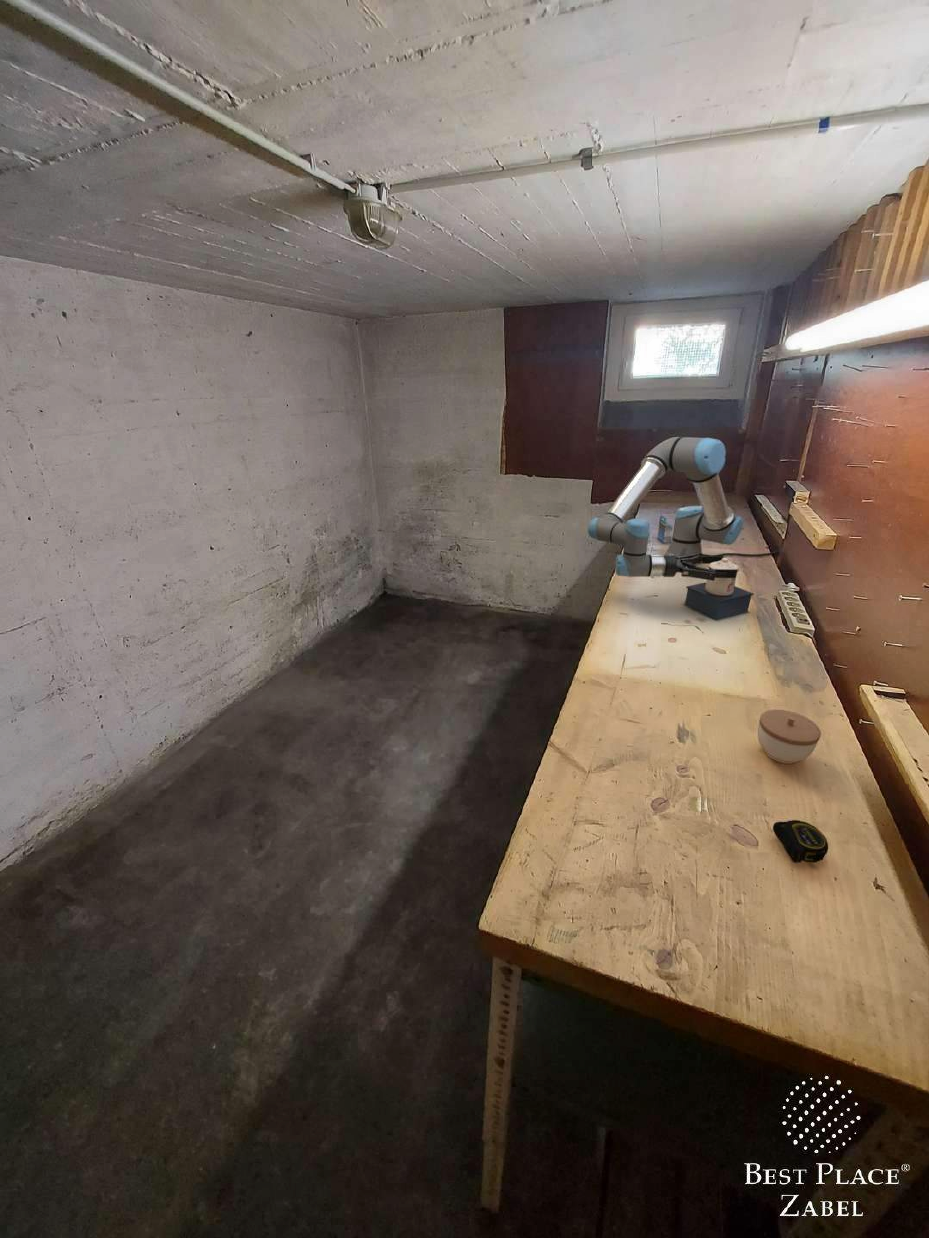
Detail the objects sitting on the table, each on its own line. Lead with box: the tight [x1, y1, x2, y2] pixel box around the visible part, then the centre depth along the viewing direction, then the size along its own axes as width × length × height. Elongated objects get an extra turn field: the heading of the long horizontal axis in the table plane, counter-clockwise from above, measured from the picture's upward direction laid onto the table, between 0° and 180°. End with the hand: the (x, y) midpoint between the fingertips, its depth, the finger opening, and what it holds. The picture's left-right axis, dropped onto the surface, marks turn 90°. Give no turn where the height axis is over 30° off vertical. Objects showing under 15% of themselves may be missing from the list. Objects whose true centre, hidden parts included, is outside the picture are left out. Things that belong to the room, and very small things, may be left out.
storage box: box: [684, 581, 754, 621], centre depth 167 cm, size 15×15×7 cm
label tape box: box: [657, 514, 674, 544], centre depth 238 cm, size 9×4×12 cm, turn 179°
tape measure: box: [772, 819, 829, 864], centre depth 82 cm, size 7×7×4 cm
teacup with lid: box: [705, 557, 740, 596], centre depth 163 cm, size 12×9×12 cm
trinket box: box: [757, 709, 822, 765], centre depth 101 cm, size 11×11×9 cm
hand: (729, 566), depth 162 cm, fingers open, 13 cm apart
